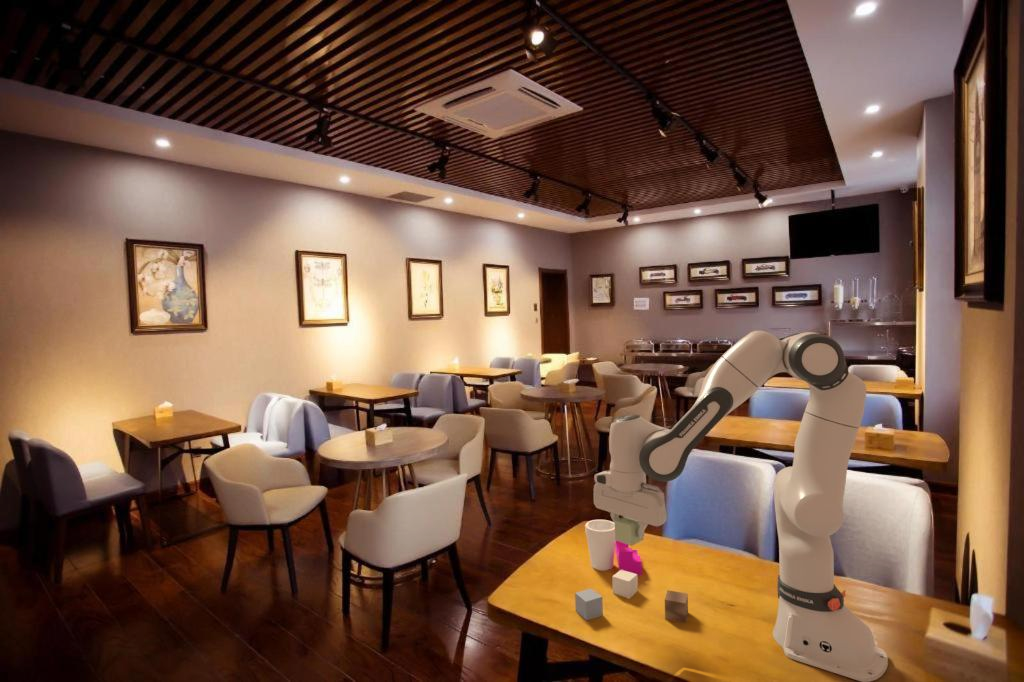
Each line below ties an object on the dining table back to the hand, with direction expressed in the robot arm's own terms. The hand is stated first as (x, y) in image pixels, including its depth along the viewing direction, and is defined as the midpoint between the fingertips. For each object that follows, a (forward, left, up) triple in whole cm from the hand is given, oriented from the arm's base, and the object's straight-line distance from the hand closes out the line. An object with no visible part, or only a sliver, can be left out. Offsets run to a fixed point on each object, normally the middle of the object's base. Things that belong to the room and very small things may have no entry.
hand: (629, 533), depth 137 cm
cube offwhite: (+8, -8, -21) cm, 24 cm away
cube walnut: (-8, -8, -21) cm, 24 cm away
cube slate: (+8, +7, -21) cm, 24 cm away
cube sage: (0, 0, -2) cm, 2 cm away
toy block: (+18, -23, -22) cm, 36 cm away
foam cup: (+22, -15, -21) cm, 34 cm away
